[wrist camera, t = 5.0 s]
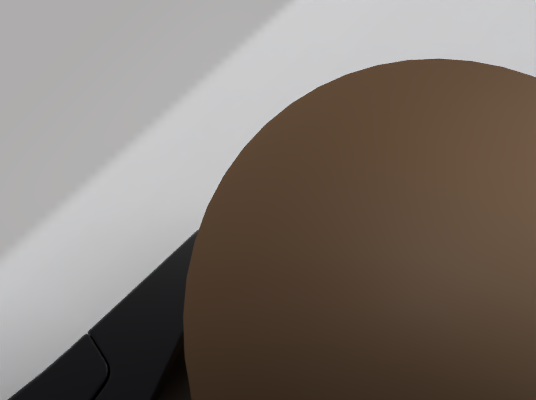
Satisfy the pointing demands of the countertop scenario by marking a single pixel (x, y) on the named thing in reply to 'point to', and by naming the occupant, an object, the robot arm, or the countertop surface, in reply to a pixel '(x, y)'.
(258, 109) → the countertop surface
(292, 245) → the dowel
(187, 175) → the countertop surface
